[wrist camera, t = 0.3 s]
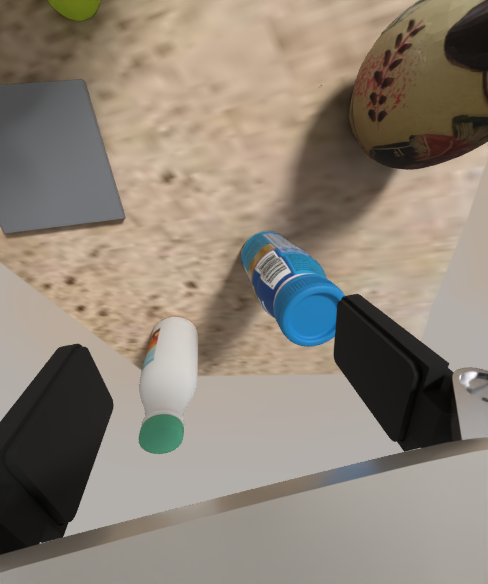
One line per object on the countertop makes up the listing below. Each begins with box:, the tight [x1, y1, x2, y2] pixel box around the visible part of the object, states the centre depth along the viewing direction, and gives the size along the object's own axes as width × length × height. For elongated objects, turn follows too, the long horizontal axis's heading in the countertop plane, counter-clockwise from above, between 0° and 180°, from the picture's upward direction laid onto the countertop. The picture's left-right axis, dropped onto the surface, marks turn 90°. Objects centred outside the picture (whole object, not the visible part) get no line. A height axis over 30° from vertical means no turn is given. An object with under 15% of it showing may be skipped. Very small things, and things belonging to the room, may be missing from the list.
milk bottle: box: [139, 317, 198, 454], centre depth 36 cm, size 8×8×20 cm
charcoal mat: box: [0, 79, 125, 233], centre depth 31 cm, size 15×15×1 cm
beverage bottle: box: [241, 231, 345, 346], centre depth 32 cm, size 8×8×20 cm
